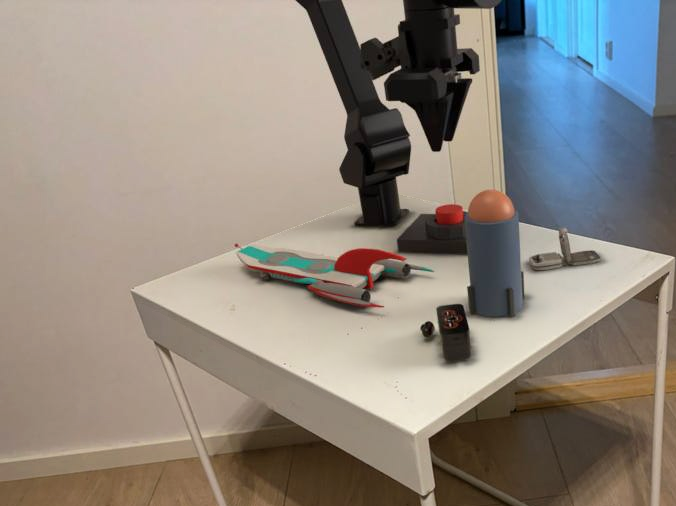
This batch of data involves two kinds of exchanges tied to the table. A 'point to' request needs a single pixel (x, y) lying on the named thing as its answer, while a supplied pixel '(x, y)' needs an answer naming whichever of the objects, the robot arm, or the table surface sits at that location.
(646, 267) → the table surface
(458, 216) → the button
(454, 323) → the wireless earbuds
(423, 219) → the box
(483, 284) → the toy rocket
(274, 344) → the table surface
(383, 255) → the toy spaceship
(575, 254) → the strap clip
